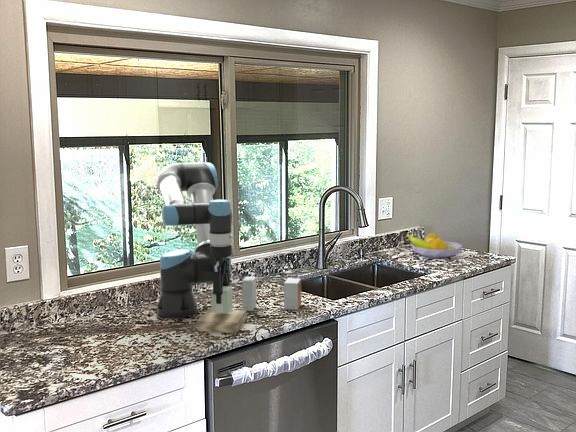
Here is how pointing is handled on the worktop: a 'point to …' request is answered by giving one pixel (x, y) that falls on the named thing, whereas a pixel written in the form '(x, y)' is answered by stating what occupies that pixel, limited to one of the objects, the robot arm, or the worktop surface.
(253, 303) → the skincare box
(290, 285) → the small box
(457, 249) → the fruit bowl
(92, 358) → the worktop surface
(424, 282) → the worktop surface
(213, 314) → the birch block
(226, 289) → the sage block
